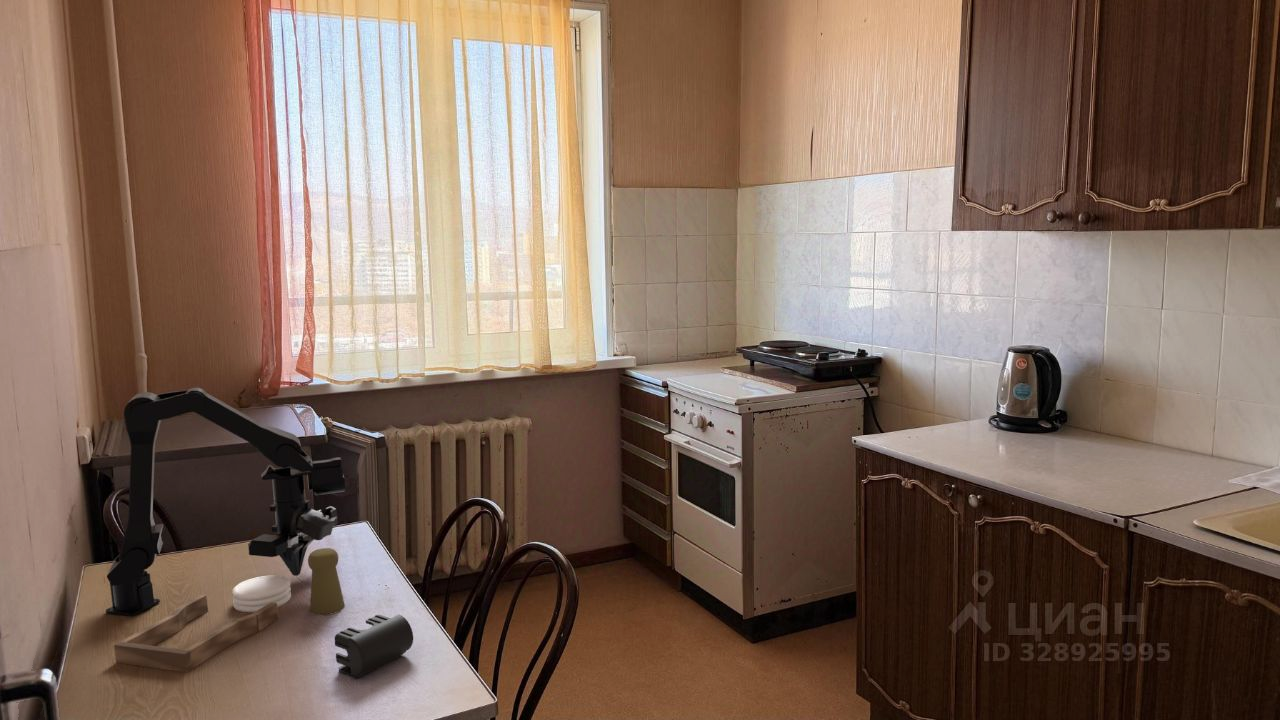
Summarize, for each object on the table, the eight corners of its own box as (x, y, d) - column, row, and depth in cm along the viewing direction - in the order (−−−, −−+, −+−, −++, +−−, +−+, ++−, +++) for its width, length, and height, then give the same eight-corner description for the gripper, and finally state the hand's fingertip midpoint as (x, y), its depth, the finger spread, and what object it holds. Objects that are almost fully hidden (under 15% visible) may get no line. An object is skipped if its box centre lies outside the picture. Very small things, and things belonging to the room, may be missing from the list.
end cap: (364, 685, 134) (361, 642, 133) (334, 673, 138) (331, 632, 137) (415, 658, 142) (412, 618, 141) (385, 647, 146) (382, 608, 145)
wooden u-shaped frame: (202, 610, 163) (201, 594, 162) (278, 619, 158) (276, 602, 157) (109, 661, 144) (107, 644, 143) (192, 673, 139) (191, 655, 138)
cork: (333, 616, 158) (328, 557, 157) (302, 614, 160) (297, 555, 158) (351, 602, 164) (346, 545, 163) (321, 600, 165) (316, 543, 164)
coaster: (243, 593, 170) (242, 576, 170) (297, 590, 171) (296, 572, 171) (225, 615, 160) (223, 597, 160) (282, 611, 162) (281, 593, 161)
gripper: (293, 516, 162) (300, 597, 164) (353, 487, 179) (359, 561, 182) (242, 512, 165) (250, 592, 167) (306, 484, 183) (312, 557, 185)
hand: (296, 575), depth 175 cm, fingers closed
